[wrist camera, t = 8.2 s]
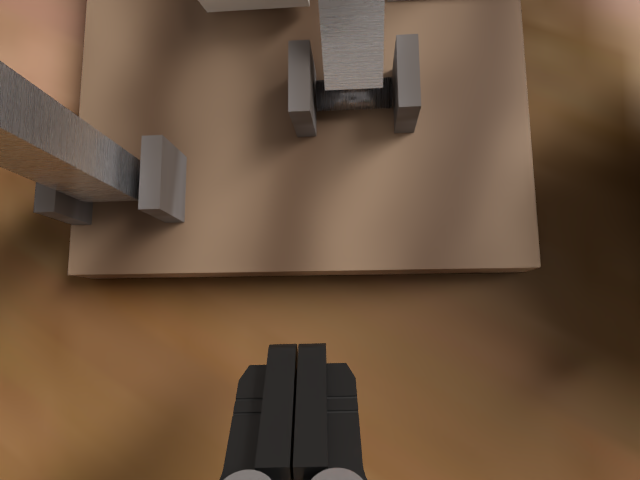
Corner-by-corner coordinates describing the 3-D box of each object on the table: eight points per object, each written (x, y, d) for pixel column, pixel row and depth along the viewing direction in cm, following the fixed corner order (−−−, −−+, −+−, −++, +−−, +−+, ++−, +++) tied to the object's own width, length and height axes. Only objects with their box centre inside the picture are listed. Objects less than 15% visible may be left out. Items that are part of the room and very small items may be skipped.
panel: (93, 278, 23) (26, 268, 18) (114, -66, 26) (61, -149, 21) (536, 271, 21) (583, 258, 17) (508, -95, 24) (542, -192, 19)
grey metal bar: (91, 221, 21) (-297, 81, 9) (95, 161, 21) (-271, -55, 9) (161, 219, 21) (-135, 73, 8) (164, 158, 21) (-116, -67, 9)
